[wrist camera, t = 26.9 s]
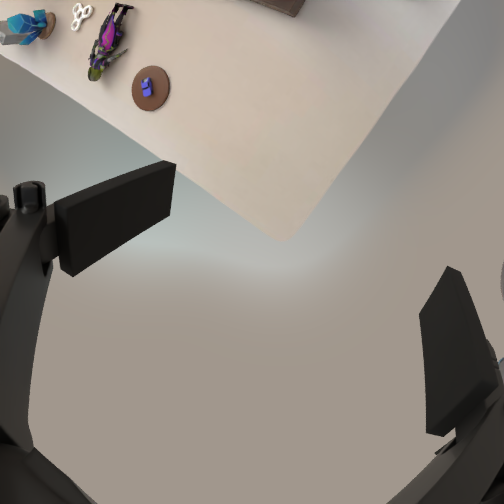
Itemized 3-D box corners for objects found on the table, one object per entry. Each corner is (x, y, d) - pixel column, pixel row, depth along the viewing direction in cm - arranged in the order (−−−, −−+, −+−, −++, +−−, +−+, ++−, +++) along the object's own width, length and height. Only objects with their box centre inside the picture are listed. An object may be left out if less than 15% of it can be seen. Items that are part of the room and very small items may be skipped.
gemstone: (37, 23, 46) (-1, 24, 36) (56, 6, 43) (15, 4, 33) (38, 46, 49) (-2, 49, 39) (57, 30, 46) (14, 30, 36)
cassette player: (12, 28, 49) (-16, 30, 41) (15, 20, 48) (-13, 21, 39) (30, 43, 50) (-1, 45, 41) (34, 34, 48) (2, 35, 40)
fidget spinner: (75, 33, 45) (72, 33, 44) (68, 16, 44) (65, 16, 43) (94, 11, 42) (91, 10, 41) (86, -6, 40) (84, -7, 39)
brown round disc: (136, 115, 49) (131, 115, 48) (130, 74, 46) (124, 74, 45) (172, 104, 46) (167, 104, 45) (165, 60, 43) (160, 59, 41)
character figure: (114, 3, 40) (85, 75, 48) (101, -1, 37) (71, 75, 45) (146, 9, 40) (113, 88, 48) (133, 5, 36) (99, 88, 44)
